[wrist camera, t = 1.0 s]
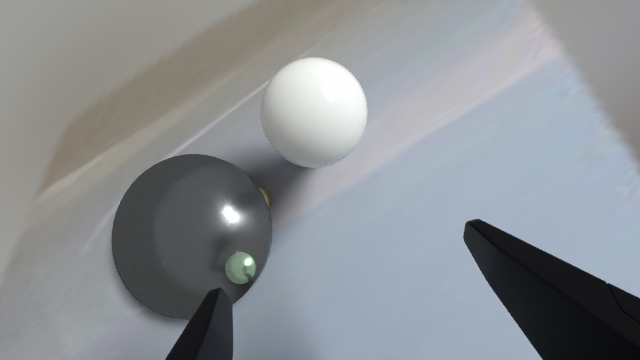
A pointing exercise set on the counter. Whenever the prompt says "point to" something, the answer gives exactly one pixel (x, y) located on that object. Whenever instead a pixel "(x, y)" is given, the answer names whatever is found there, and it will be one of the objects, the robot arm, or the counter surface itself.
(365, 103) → the lightbulb
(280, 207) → the counter surface
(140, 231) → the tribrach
